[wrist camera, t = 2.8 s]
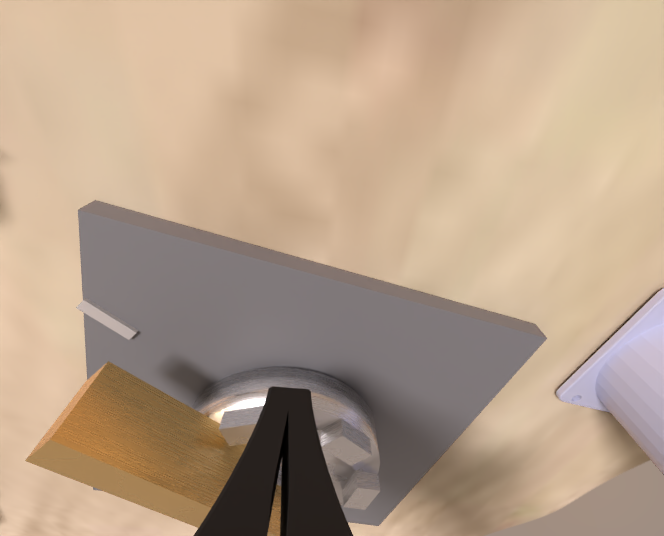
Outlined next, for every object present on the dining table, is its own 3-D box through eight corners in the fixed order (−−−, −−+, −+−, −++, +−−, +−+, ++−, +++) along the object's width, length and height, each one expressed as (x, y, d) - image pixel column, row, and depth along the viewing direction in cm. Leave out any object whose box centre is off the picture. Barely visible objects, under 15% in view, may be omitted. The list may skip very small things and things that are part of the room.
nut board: (535, 324, 16) (549, 340, 15) (374, 513, 26) (376, 531, 25) (89, 198, 12) (69, 209, 11) (99, 476, 22) (88, 495, 21)
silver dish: (410, 433, 18) (437, 544, 14) (284, 495, 21) (274, 601, 17) (196, 268, 12) (130, 371, 8) (67, 387, 16) (-30, 507, 11)
